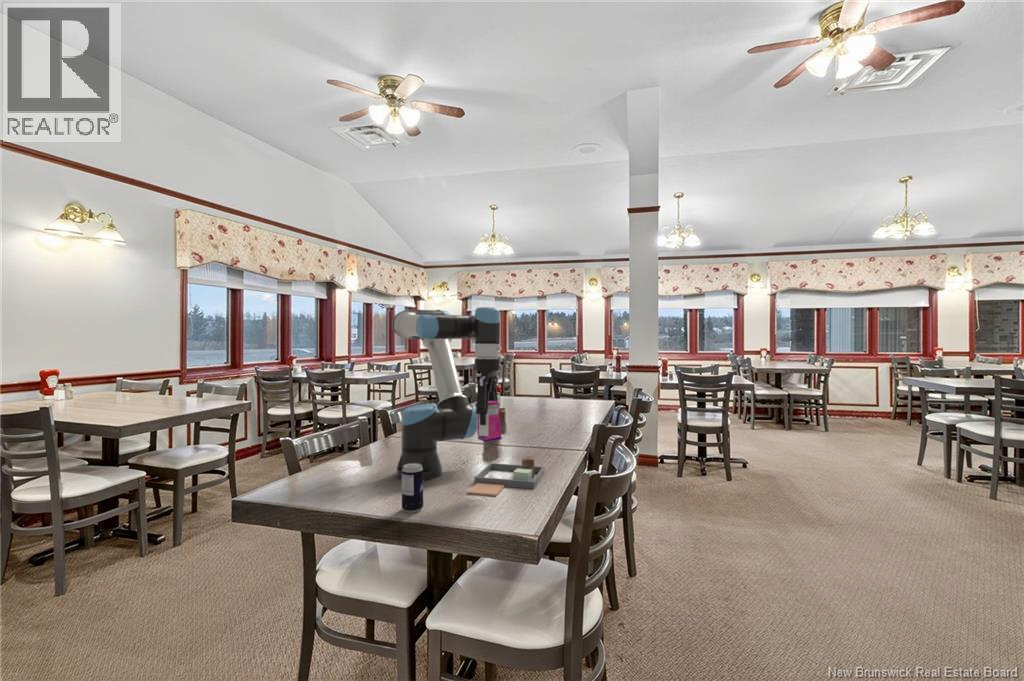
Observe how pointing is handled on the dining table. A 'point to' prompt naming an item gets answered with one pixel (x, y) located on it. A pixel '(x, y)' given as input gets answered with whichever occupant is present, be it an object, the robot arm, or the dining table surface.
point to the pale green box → (522, 474)
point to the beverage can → (412, 487)
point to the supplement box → (491, 422)
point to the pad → (486, 489)
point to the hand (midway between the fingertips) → (487, 432)
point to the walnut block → (528, 463)
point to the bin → (508, 482)
